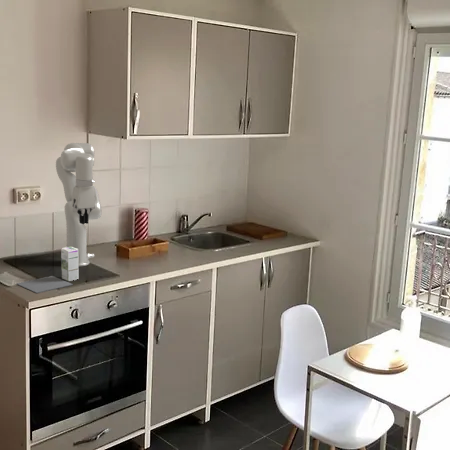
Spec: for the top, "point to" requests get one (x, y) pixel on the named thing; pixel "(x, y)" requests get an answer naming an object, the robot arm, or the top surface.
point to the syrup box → (69, 263)
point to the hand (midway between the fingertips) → (83, 223)
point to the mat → (44, 284)
